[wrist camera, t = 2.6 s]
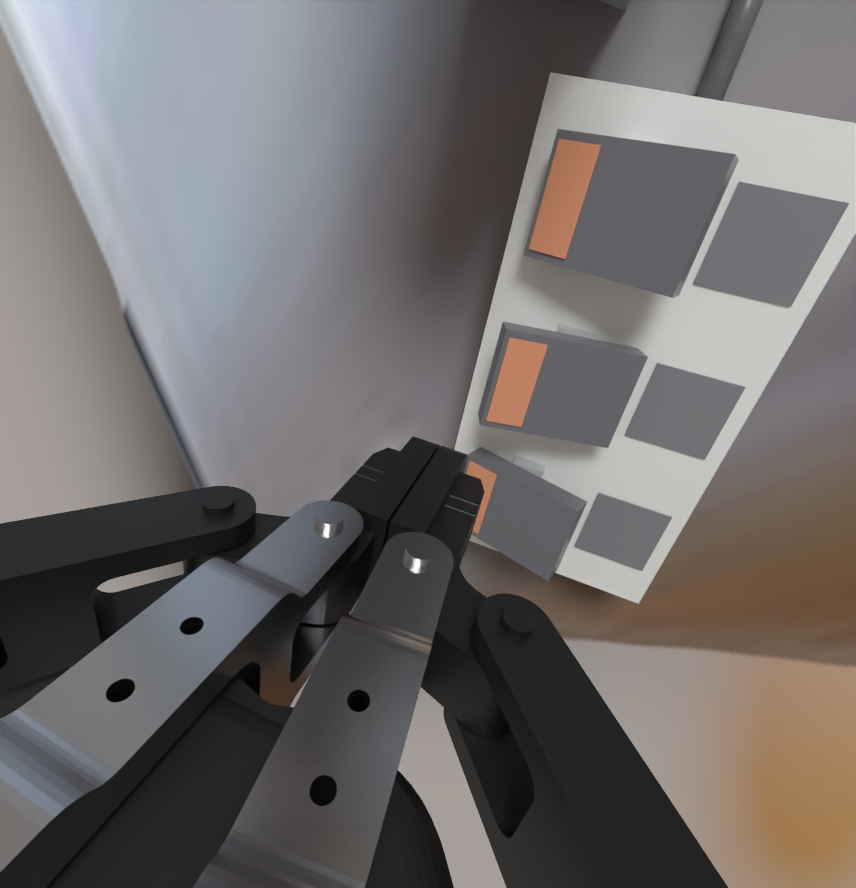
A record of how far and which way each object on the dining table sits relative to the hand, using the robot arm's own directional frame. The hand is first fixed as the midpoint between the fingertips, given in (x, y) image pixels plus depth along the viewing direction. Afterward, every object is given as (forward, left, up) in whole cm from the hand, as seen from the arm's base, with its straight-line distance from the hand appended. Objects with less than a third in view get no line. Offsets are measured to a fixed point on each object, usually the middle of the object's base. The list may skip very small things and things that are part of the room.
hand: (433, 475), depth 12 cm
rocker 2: (-3, 0, -10) cm, 11 cm away
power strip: (-5, -3, -16) cm, 17 cm away
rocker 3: (-3, +7, -10) cm, 13 cm away
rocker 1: (-3, -7, -10) cm, 13 cm away
